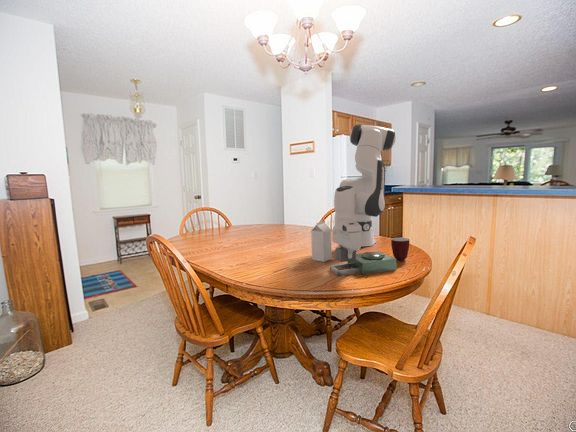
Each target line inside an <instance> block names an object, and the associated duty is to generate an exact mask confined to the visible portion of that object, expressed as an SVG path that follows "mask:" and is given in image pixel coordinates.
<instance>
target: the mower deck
mask: <svg viewBox="0 0 576 432" xmlns="http://www.w3.org/2000/svg"><path fill="white" fill-rule="evenodd" d="M329 271H331V272H332V273H333V274H335V275H336V276H337V277H340V276H347V275H354V274H361V275H362V276H365V275H370V274H372V275H373V274H377V273H387V272H391V271H397V260H396V258H395V257H394V256H391V255H388V254H386V253H383V252H381V251H379V250H377V251H365V252H361V253H356V260H355V261H347V262H346V263H339V264H331V265H329Z"/></svg>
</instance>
